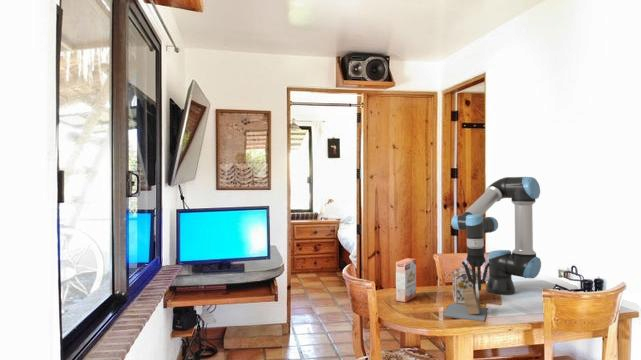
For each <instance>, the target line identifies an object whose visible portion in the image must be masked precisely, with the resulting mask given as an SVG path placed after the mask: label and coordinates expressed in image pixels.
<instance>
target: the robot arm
mask: <svg viewBox="0 0 641 360" xmlns="http://www.w3.org/2000/svg"><path fill="white" fill-rule="evenodd" d="M540 186H541V185H540V183H539V182H538V181H537V179H536V178H534V177H532V176H512V177H509V176H506V177H502V178H499V179H497V180H495V181H494V182H492V183H491V184H490V185H489V186H487V187H486V188H485V190H484V193H482V195H480V196H479V198H477V199H476V200H475V201H474V202H473V203H472V204H471V205H470V206H469V207H468V208H467V209H466V210H465V211H464V212H462V214H461V215H459V214H457V215H453V217H452V218H451V221H450V224H451V227H452V228H453V229H454V230H458V231H464V232H465V231H466V246H467V248H466V254H467V255H466V259H465V260H463V261H462V262H461V264H462V266H464V267H465V270H466V274H467V277H468V280H469V282H472V283H473V290H476V298H479V299H480V291H482V284H483V283H485V282H486V278H487V276H488V279H487V282H486V287H485V290H486V291H487V292H488V293H490V294H495V295H503V296H508V295H514V294H515V293H516V287H515V285H514V281H513V278H512V276H515V277H520V278H524V279H535V278H536V277H538V275H539V274H540V272H541V268H542V260H541V258H540V257H538V256H537V252H536V251H535V250H534V246H533V245H534V238H533V237H534V234H533V229H534V227H533V221H534V220H533V205H534V204H535V203H536V200H537V199H539V198H540V195H541V187H540ZM502 199H510V200H511V203H512V204H513V205H514V249H513V250H509V249H498V250H492V251H490V252H489V253H488V260H486V257H485V248H484V247H485V245H484V244H485V243H484V234H489V233H493V232H495V231H497V230H498V228H499V223H498V220H497V219H496V218H495V217H493V216H484V214H485V213H486V212H487V211H488V210H489V209H490V208H491V207H492V206H493V205H494V204H495V203H498V202H500V201H501V200H502ZM468 264H469V265H470V267H471V270H472V278H473V279H472V278H471V275H470V272H469V268H468V267H469V265H468ZM483 264H484V271H483V275H482V268H481V267H482V266H483ZM476 269H477V271H476ZM475 271H476V272H477V275H478V283H476V272H475ZM487 274H488V275H487Z"/></svg>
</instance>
